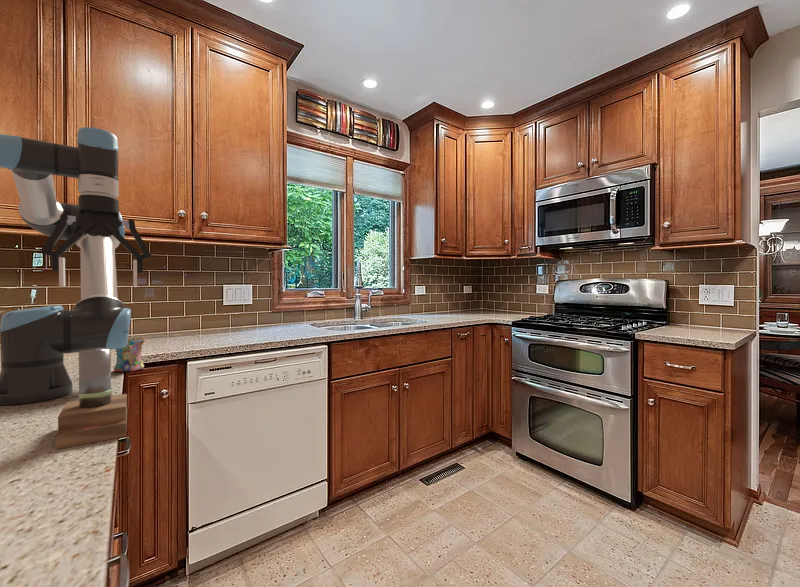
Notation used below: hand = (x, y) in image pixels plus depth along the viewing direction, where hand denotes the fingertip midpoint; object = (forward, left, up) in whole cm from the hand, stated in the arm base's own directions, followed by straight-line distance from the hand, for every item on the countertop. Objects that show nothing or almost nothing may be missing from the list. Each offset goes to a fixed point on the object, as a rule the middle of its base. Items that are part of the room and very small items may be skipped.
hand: (100, 286), depth 90 cm
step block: (+18, 0, -29) cm, 34 cm away
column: (+18, 0, -24) cm, 29 cm away
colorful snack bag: (-42, +5, -29) cm, 51 cm away
